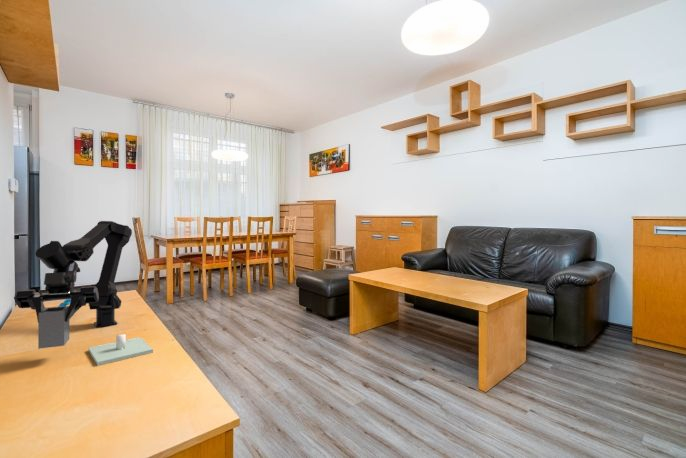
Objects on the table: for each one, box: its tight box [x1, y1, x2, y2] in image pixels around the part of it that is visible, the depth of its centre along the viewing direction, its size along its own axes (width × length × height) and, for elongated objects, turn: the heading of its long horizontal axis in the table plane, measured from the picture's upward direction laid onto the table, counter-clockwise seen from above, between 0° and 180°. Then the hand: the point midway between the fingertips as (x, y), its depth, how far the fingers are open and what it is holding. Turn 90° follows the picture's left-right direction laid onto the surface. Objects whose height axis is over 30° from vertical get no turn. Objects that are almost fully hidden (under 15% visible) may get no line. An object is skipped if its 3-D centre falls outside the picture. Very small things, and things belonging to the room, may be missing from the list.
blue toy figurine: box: [57, 299, 71, 307], centre depth 133 cm, size 11×6×10 cm
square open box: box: [37, 305, 70, 349], centre depth 96 cm, size 6×6×10 cm
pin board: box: [88, 333, 154, 367], centre depth 102 cm, size 14×14×5 cm
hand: (53, 322), depth 94 cm, fingers closed on square open box, 6 cm apart
